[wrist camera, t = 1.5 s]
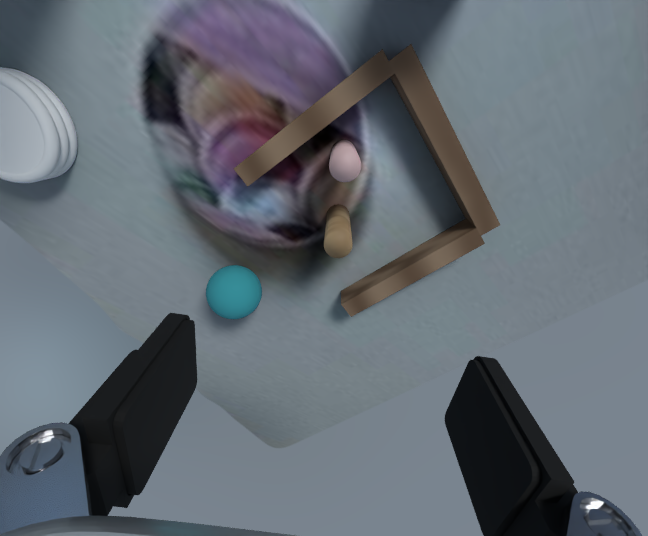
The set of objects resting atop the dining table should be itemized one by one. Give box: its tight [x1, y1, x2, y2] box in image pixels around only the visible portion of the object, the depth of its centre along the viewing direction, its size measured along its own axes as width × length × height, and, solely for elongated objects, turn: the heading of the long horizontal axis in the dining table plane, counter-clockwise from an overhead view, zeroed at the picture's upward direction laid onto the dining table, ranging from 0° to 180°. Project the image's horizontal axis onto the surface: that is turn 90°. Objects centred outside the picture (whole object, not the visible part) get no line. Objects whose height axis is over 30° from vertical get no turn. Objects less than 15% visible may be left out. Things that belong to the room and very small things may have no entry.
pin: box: [324, 205, 352, 258], centre depth 31 cm, size 2×2×8 cm
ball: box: [206, 265, 262, 319], centre depth 36 cm, size 6×6×6 cm
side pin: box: [329, 140, 361, 182], centre depth 28 cm, size 2×2×8 cm
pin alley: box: [234, 44, 500, 317], centre depth 32 cm, size 18×20×3 cm
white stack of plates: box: [0, 67, 78, 183], centre depth 30 cm, size 10×10×4 cm
